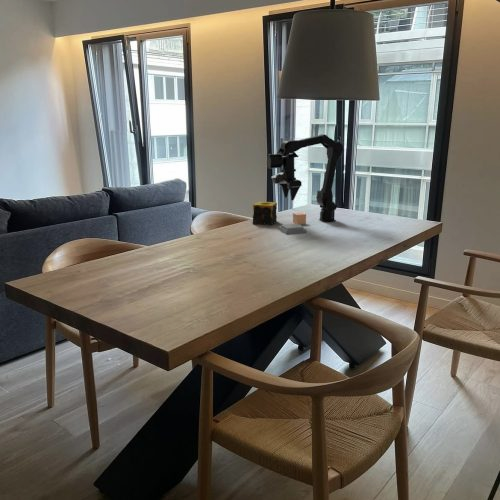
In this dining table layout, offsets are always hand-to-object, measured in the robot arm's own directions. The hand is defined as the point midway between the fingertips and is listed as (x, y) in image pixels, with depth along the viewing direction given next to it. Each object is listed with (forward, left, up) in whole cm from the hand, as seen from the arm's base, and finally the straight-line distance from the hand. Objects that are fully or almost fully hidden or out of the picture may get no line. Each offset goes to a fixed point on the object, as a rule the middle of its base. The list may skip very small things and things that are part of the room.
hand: (289, 198), depth 242 cm
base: (+4, +16, -13) cm, 20 cm away
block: (-6, +1, -13) cm, 14 cm away
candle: (+10, -6, -13) cm, 18 cm away
